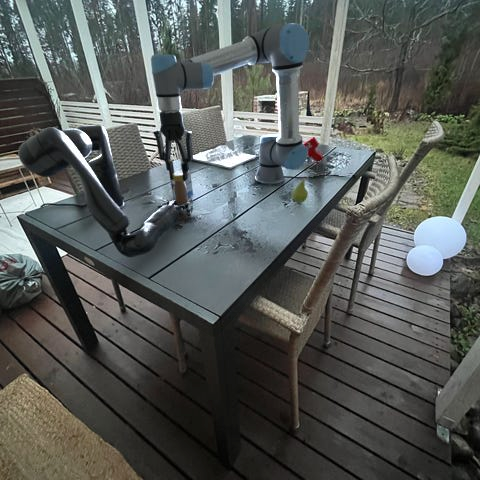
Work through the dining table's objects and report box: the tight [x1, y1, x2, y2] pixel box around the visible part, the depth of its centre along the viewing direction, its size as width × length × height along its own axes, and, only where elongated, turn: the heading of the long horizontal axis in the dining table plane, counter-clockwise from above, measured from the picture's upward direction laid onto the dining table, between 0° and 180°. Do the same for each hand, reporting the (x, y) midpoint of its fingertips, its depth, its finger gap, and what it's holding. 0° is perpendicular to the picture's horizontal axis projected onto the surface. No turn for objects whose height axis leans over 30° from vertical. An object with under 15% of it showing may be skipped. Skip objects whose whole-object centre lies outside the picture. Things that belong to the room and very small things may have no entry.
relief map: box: [192, 144, 257, 170], centre depth 178 cm, size 27×35×5 cm
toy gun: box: [302, 136, 324, 164], centre depth 170 cm, size 18×4×15 cm
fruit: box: [291, 174, 311, 204], centre depth 118 cm, size 7×8×12 cm
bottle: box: [174, 180, 191, 220], centre depth 106 cm, size 5×5×18 cm
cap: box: [172, 171, 183, 181], centre depth 101 cm, size 4×4×2 cm
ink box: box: [168, 169, 194, 200], centre depth 124 cm, size 8×5×12 cm, turn 135°
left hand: (185, 200), depth 109 cm, fingers closed on bottle, 4 cm apart
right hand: (179, 179), depth 102 cm, fingers closed on cap, 4 cm apart
